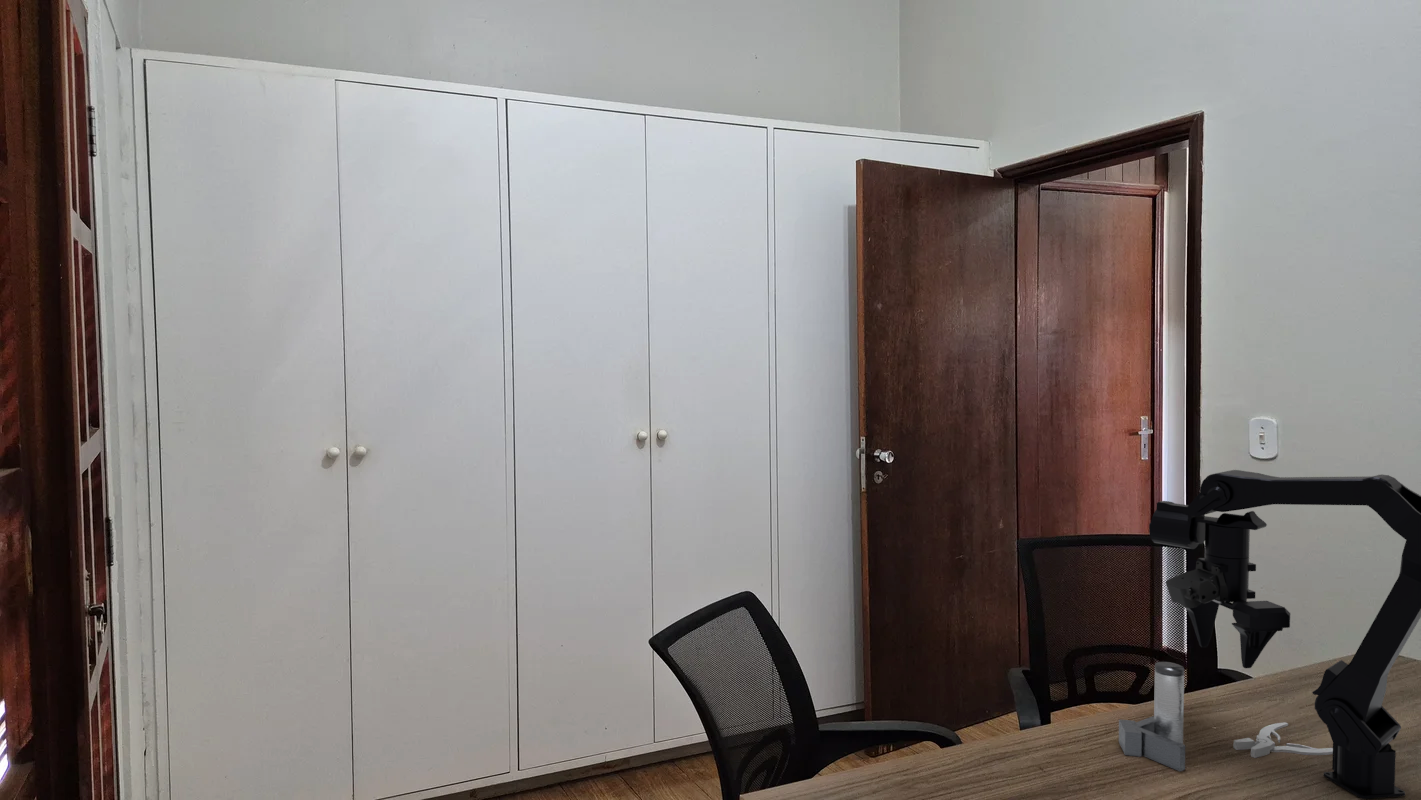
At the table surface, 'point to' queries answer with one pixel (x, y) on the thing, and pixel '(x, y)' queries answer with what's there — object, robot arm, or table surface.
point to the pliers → (1267, 745)
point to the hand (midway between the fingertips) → (1224, 656)
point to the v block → (1150, 743)
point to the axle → (1169, 700)
